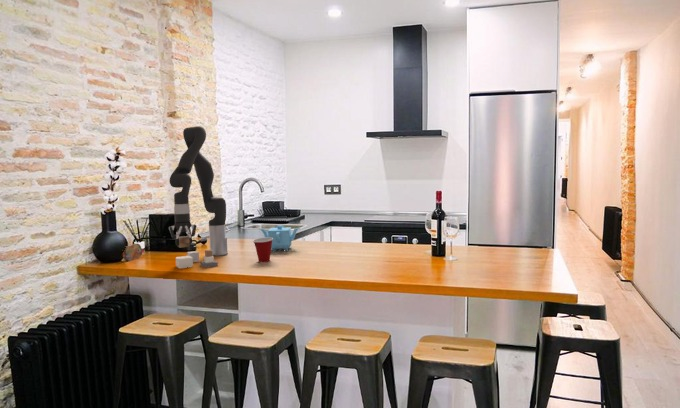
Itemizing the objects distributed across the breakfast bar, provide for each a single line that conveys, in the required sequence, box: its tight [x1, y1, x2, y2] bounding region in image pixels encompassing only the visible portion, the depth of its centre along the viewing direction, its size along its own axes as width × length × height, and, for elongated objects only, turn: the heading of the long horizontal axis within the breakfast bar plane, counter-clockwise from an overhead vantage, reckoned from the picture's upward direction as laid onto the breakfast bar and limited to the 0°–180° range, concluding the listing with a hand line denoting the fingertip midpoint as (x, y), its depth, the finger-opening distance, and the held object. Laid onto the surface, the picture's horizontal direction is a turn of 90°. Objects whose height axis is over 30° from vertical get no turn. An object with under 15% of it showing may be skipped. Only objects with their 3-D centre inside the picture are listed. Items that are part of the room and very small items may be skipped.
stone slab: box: [122, 243, 143, 262], centre depth 287 cm, size 15×3×8 cm, turn 168°
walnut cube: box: [177, 235, 191, 249], centre depth 263 cm, size 5×5×5 cm
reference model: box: [200, 249, 219, 269], centre depth 263 cm, size 7×7×8 cm
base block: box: [175, 255, 194, 270], centre depth 263 cm, size 7×7×5 cm
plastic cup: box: [252, 236, 273, 263], centre depth 272 cm, size 11×11×12 cm
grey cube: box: [186, 250, 200, 263], centre depth 277 cm, size 5×5×5 cm
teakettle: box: [259, 224, 301, 252], centre depth 306 cm, size 19×19×15 cm
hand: (183, 245), depth 263 cm, fingers closed on walnut cube, 5 cm apart
